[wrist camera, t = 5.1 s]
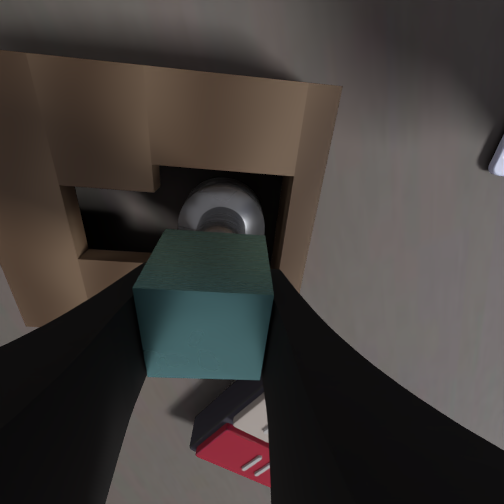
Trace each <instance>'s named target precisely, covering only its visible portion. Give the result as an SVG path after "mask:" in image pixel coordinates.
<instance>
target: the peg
mask: <svg viewBox="0 0 504 504" xmlns="http://www.w3.org/2000/svg"><path fill="white" fill-rule="evenodd" d="M264 232H265V224H264V217H263V211H262V206H261V203H260V200H259V199H258V197H257V195H256V194H255V192H254V191H253V190H252V189H251V188H250V187H248V186H247V185H246V184H244V183H242V182H241V181H238V180H236V179H232V178H227V177H217V178H212V179H208V180H206V181H203V182H202V183H200V184H199V185H197V186H196V187H195V188H194V189H193V190H192V191H191V193H190V194H189V196H188V197H187V199H186V201H185V203H184V205H183V207H182V209H181V211H180V214H179V218H178V230H174V229H165V231H164V232H163V234H162V236H161V238H160V239H159V241H158V243H157V245H156V247H155V248H154V250H153V252H152V254H151V255H150V257H149V259H148V261H147V263H146V264H145V266H144V268H143V270H142V271H141V273H140V275H139V277H138V279H137V280H136V282H135V284H134V286H133V288H132V289H133V295H134V301H135V307H136V312H137V318H138V324H139V330H140V336H141V341H142V347H143V353H144V359H145V364H146V370H147V376H148V377H165V378H200V379H234V380H260V376H261V370H262V364H263V358H264V352H265V346H266V340H267V334H268V328H269V322H270V317H271V311H272V305H273V299H274V291H273V285H272V278H271V272H270V265H269V258H268V252H267V245H266V238H265V236H264Z"/></svg>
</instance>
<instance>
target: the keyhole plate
mask: <svg viewBox="0 0 504 504" xmlns="http://www.w3.org/2000/svg"><path fill="white" fill-rule="evenodd" d="M342 87H343V86H334V85H325V84H316V83H306V82H297V81H287V80H278V79H269V78H259V77H250V76H240V75H231V74H222V73H212V72H203V71H193V70H184V69H174V68H165V67H156V66H146V65H137V64H127V63H118V62H109V61H99V60H90V59H80V58H71V57H62V56H52V55H43V54H33V53H24V52H15V51H5V50H0V264H1V267H2V269H3V272H4V274H5V277H6V279H7V282H8V284H9V286H10V289H11V291H12V294H13V296H14V299H15V301H16V303H17V306H18V308H19V311H20V313H21V316H22V318H23V320H24V323H25V325H26V326H29V327H41V326H43V325H45V324H47V323H49V322H51V321H53V320H54V319H56V318H58V317H60V316H61V315H63V314H65V313H67V312H68V311H70V310H71V309H73V308H75V307H76V306H78V305H80V304H81V303H83V302H85V301H86V300H88V299H90V298H91V297H93V296H94V295H96V294H98V293H99V292H101V291H102V290H104V289H105V288H107V287H108V286H110V285H111V284H113V283H114V282H116V281H117V280H119V279H120V278H122V277H123V276H124V275H126V274H127V273H129V272H130V271H132V270H133V269H135V268H136V267H138V266H139V265H141V264H142V263H144V262H147V261H148V259H149V257H150V255H151V254H152V253H145V252H128V251H112V250H96V249H88V244H87V240H86V235H85V231H84V226H83V222H82V217H81V213H80V209H79V204H78V200H77V195H76V191H75V187H89V188H102V189H115V190H128V191H141V192H155V191H156V190H157V189H158V188H159V187H160V186H161V185H160V171H159V165H163V166H175V167H187V168H199V169H211V170H224V171H236V172H248V173H260V174H272V175H283V179H282V187H281V194H280V201H279V208H278V215H277V222H276V230H275V237H274V244H273V251H272V258H271V265H270V269H280V270H281V271H282V272H283V274H284V275H285V276H286V277H287V279H288V280H289V281H290V282H291V284H292V285H293V286H294V288H295V289H296V290H297V291H298V293H299V292H300V287H301V283H302V278H303V273H304V268H305V264H306V259H307V254H308V249H309V245H310V240H311V235H312V230H313V226H314V221H315V216H316V211H317V207H318V202H319V197H320V192H321V187H322V183H323V178H324V173H325V168H326V164H327V159H328V154H329V149H330V145H331V140H332V135H333V130H334V126H335V121H336V116H337V111H338V107H339V102H340V97H341V92H342Z"/></svg>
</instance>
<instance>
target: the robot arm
mask: <svg viewBox="0 0 504 504" xmlns="http://www.w3.org/2000/svg"><path fill="white" fill-rule="evenodd" d="M488 169H489V172H490V173H491V174H494V175H498V176H504V135H503V137H502V139H501V141H500V143H499V145H498V147H497V150H496V152H495V154H494V156H493V158H492V160H491V162H490V164H489V167H488ZM146 263H147V262H144V263H142V264H141V265H139V266H138V267H136V268H135V269H133V270H132V271H130V272H129V273H127V274H126V275H124V276H123V277H122V278H120V279H119V280H117V281H116V282H114V283H113V284H111V285H110V286H108V287H107V288H105V289H104V290H102V291H101V292H99V293H98V294H96V295H94V296H93V297H91V298H90V299H88V300H86V301H85V302H83V303H81V304H80V305H78V306H76V307H75V308H73V309H71V310H70V311H68V312H67V313H65V314H63V315H61V316H60V317H58V318H56V319H54V320H53V321H51V322H49V323H47V324H45V325H43V326H41V327H39V328H38V329H36V330H34V331H32V332H30V333H28V334H26V335H24V336H22V337H20V338H18V339H16V340H14V341H12V342H10V343H8V344H6V345H3V346H1V347H0V504H105V502H106V499H107V495H108V492H109V488H110V485H111V481H112V477H113V474H114V470H115V467H116V463H117V460H118V456H119V453H120V450H121V446H122V443H123V439H124V436H125V433H126V429H127V426H128V423H129V420H130V417H131V414H132V411H133V408H134V406H135V403H136V400H137V398H138V395H139V393H140V390H141V388H142V386H143V383H144V381H145V378H146V376H147V370H146V364H145V359H144V353H143V347H142V341H141V336H140V330H139V324H138V318H137V312H136V307H135V301H134V295H133V289H132V288H133V286H134V284H135V282H136V280H137V279H138V277H139V275H140V273H141V271H142V270H143V268H144V266H145V264H146ZM270 272H271V278H272V285H273V291H274V299H273V305H272V311H271V317H270V322H269V328H268V334H267V340H266V346H265V352H264V358H263V364H262V370H261V375H262V382H263V389H264V396H265V403H266V412H267V422H268V440H269V460H270V483H271V504H504V450H502V449H500V448H499V447H497V446H495V445H493V444H492V443H490V442H488V441H487V440H485V439H483V438H482V437H480V436H478V435H476V434H475V433H473V432H471V431H470V430H468V429H466V428H465V427H463V426H461V425H460V424H458V423H456V422H455V421H453V420H452V419H450V418H449V417H447V416H446V415H444V414H442V413H441V412H439V411H438V410H436V409H435V408H433V407H432V406H430V405H429V404H427V403H426V402H424V401H423V400H421V399H420V398H418V397H417V396H415V395H414V394H412V393H411V392H409V391H408V390H407V389H405V388H404V387H402V386H401V385H399V384H398V383H397V382H395V381H394V380H393V379H391V378H390V377H389V376H387V375H386V374H385V373H383V372H382V371H381V370H379V369H378V368H377V367H375V366H374V365H373V364H372V363H370V362H369V361H368V360H367V359H365V358H364V357H363V356H362V355H360V354H359V353H358V352H357V351H356V350H355V349H353V348H352V347H351V346H350V345H349V344H348V343H347V342H345V341H344V340H343V339H342V338H341V337H340V336H339V335H338V334H337V333H335V332H334V331H333V330H332V329H331V328H330V327H329V326H328V325H327V324H326V323H325V322H324V321H323V320H322V319H321V318H320V317H319V316H318V314H317V313H316V312H315V311H314V310H313V309H312V308H311V307H310V306H309V304H308V303H307V302H306V301H305V300H304V299H303V297H302V296H301V295H300V294H299V293H298V291H297V290H296V289H295V288H294V286H293V285H292V284H291V282H290V281H289V280H288V279H287V277H286V276H285V275H284V274H283V272H282V271H281V270H280V269H270Z"/></svg>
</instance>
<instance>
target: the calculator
mask: <svg viewBox="0 0 504 504" xmlns="http://www.w3.org/2000/svg"><path fill="white" fill-rule="evenodd" d="M190 449H191V450H193V451H195V452H196V456H197V457H199V458H201V459H204V460H206V461H209V462H211V463H213V464H216V465H218V466H220V467H223V468H225V469H228V470H230V471H232V472H235V473H237V474H239V475H242V476H244V477H247V478H249V479H251V480H254V481H256V482H258V483H261V484H263V485H265V486H268V487H270V488H271V483H270V460H269V440H268V422H267V412H266V403H265V396H264V389H263V382H262V375H261V376H260V380H237V381H235V382H234V383H233V384H232V385H231V386H230V387H229V388H228V389H226V390H225V391H224V392H223V393H222V394H221V395H220V396H219V397H217V398H216V399H215V400H214V401H213V402H212V403H211V404H210V405H208V406H207V407H206V408H205V409H204V410H203V411H202V412H201V413H199V414H198V415H197V416H196V417H195V421H194V426H193V432H192V437H191V442H190Z"/></svg>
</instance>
